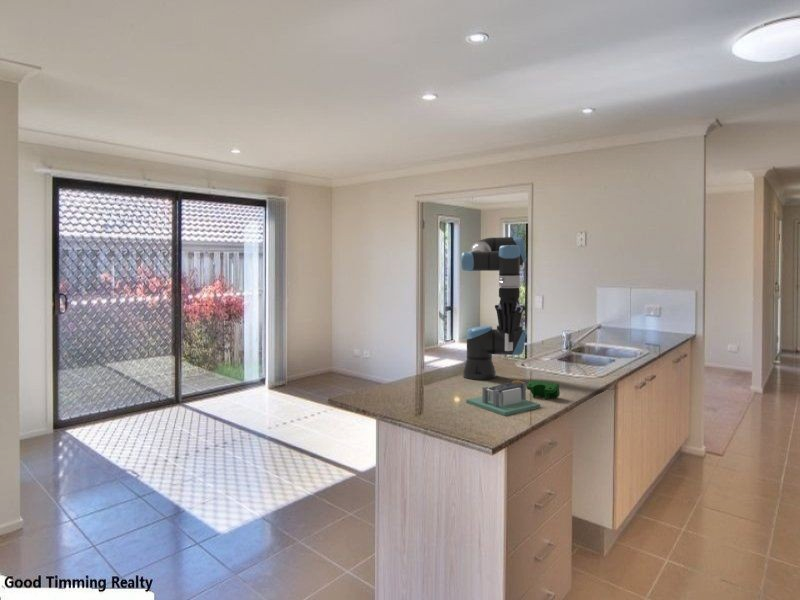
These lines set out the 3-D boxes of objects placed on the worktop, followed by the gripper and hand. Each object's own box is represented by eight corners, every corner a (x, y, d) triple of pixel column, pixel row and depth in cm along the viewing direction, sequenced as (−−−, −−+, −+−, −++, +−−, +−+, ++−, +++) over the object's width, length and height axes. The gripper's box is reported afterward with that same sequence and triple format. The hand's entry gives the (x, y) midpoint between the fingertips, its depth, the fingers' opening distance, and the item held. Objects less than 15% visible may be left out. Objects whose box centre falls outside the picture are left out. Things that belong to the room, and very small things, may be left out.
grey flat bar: (515, 383, 192) (515, 379, 192) (523, 385, 188) (522, 381, 188) (489, 390, 185) (488, 386, 184) (496, 392, 181) (496, 388, 181)
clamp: (532, 407, 198) (521, 386, 198) (538, 400, 202) (528, 380, 203) (557, 401, 190) (546, 380, 190) (564, 394, 194) (553, 373, 194)
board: (501, 395, 199) (502, 376, 199) (540, 407, 183) (541, 386, 182) (466, 402, 190) (466, 383, 189) (504, 415, 173) (504, 394, 172)
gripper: (489, 286, 188) (489, 349, 190) (514, 288, 177) (514, 354, 179) (504, 286, 192) (503, 347, 194) (529, 287, 181) (529, 352, 183)
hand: (508, 350), depth 186 cm, fingers closed
